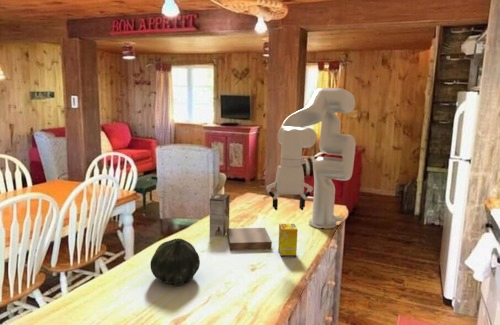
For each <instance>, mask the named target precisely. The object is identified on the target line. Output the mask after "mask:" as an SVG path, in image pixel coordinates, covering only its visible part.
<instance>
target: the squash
mask: <svg viewBox="0 0 500 325" xmlns="http://www.w3.org/2000/svg"><path fill="white" fill-rule="evenodd" d="M200 265H201V261H200V255H199V254H198V252H197V250H196V248H195V247H194V245H193V244H192V243H191V242H189V241H187V240H185V239H184V238H173V239H171V240H167V241H165V242H163V243H161V244H160V245H158V246H157V248H156V250H155V252H154V254H153V255H152V257H151V259H150V271H151V274H152V275H153V276H154V277H155V279H158V280H159V281H160V282H161V283H167V284H172V283H173V284H174V285H176V286H181V285H182V284H187V283H189V282H190V281H191V280H192V279H193V278H194V276H195V275H196V273H197V272H198V270H199V268H200Z"/></svg>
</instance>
